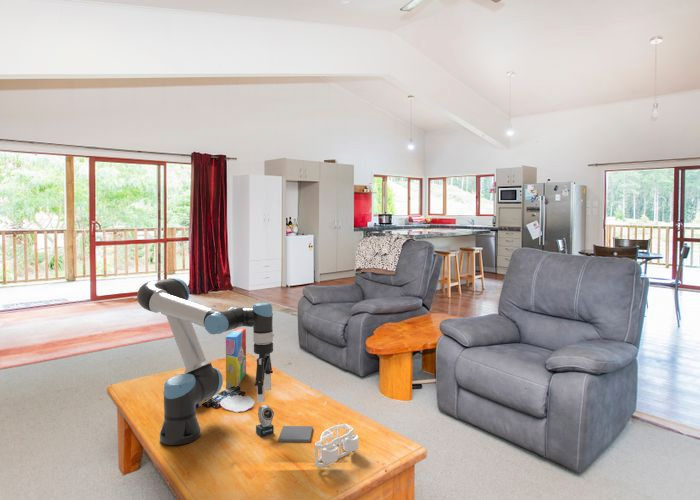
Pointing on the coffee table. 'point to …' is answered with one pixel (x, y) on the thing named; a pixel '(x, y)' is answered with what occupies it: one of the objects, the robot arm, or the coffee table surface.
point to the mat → (295, 434)
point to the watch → (265, 421)
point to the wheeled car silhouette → (335, 445)
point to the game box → (235, 357)
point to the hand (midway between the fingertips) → (264, 395)
